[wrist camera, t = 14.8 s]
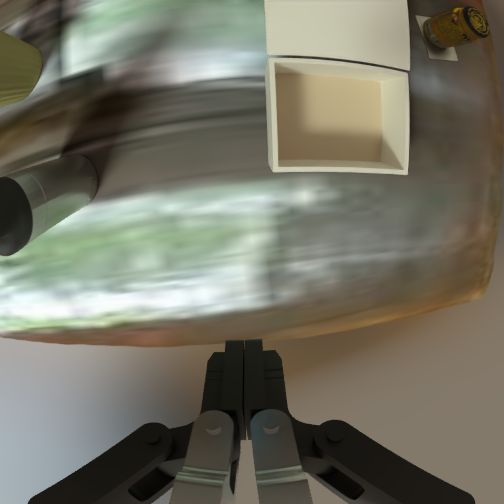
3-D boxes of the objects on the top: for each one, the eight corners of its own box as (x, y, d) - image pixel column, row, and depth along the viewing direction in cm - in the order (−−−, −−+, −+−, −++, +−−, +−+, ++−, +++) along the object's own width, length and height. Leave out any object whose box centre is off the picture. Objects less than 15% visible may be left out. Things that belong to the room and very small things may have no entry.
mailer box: (382, 165, 40) (407, 174, 33) (268, 163, 40) (273, 172, 33) (382, 79, 34) (407, 72, 27) (264, 70, 34) (268, 57, 27)
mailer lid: (404, -21, 19) (401, -20, 19) (261, -44, 19) (261, -42, 19) (409, 70, 27) (407, 70, 27) (267, 54, 27) (266, 55, 27)
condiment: (444, 20, 28) (484, 6, 17) (457, 61, 31) (501, 55, 20) (414, 15, 28) (454, -4, 18) (428, 58, 32) (473, 49, 21)
